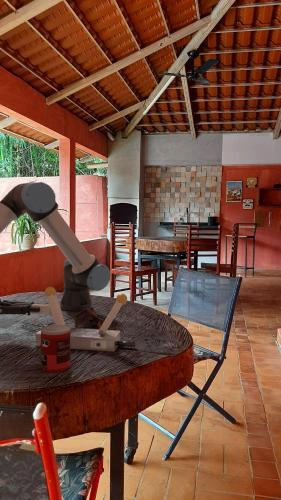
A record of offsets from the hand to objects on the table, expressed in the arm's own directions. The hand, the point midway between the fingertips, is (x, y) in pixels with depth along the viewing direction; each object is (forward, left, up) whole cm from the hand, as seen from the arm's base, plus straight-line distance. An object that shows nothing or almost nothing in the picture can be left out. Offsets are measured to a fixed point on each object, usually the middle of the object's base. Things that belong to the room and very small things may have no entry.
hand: (50, 309), depth 125 cm
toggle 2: (0, +18, -6) cm, 19 cm away
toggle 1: (0, +4, -6) cm, 7 cm away
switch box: (0, +13, -11) cm, 17 cm away
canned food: (+20, +10, -11) cm, 25 cm away
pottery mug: (-21, +7, -11) cm, 25 cm away
